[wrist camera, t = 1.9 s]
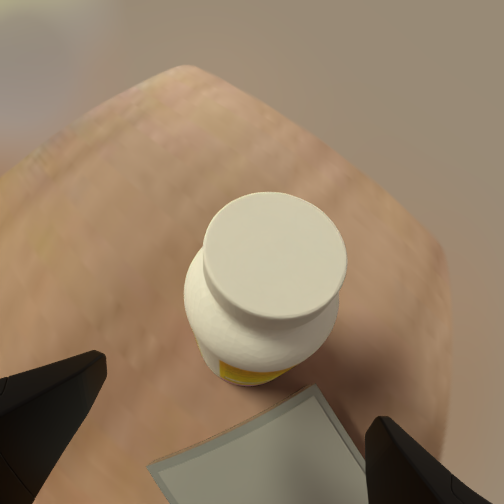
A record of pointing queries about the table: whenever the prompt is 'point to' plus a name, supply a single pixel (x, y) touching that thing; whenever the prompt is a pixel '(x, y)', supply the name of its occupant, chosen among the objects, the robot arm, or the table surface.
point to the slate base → (270, 460)
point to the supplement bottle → (264, 286)
